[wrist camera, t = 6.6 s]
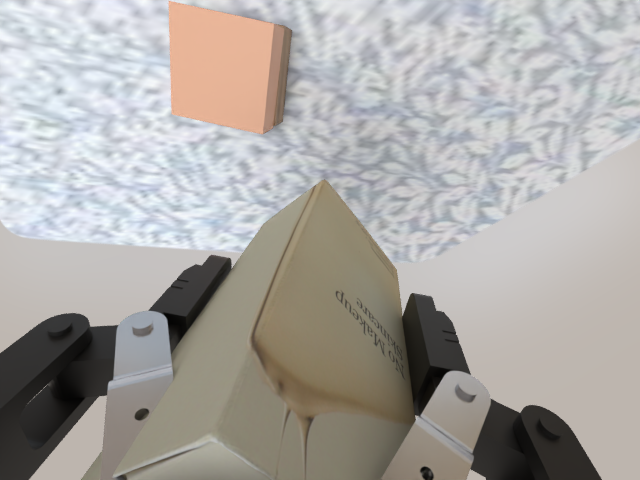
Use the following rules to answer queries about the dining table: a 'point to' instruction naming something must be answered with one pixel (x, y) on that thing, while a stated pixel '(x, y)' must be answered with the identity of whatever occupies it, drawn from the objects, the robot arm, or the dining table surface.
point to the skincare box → (287, 362)
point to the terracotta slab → (224, 67)
